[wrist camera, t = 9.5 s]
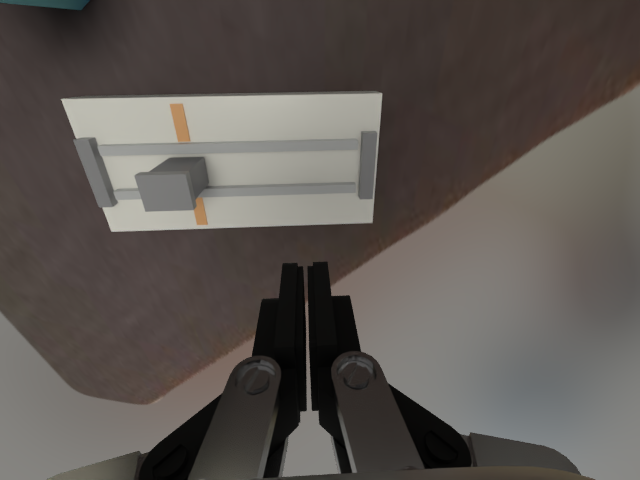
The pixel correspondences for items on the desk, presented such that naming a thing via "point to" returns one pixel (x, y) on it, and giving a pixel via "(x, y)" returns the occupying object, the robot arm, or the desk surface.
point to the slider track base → (234, 155)
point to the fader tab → (173, 184)
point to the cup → (51, 3)
